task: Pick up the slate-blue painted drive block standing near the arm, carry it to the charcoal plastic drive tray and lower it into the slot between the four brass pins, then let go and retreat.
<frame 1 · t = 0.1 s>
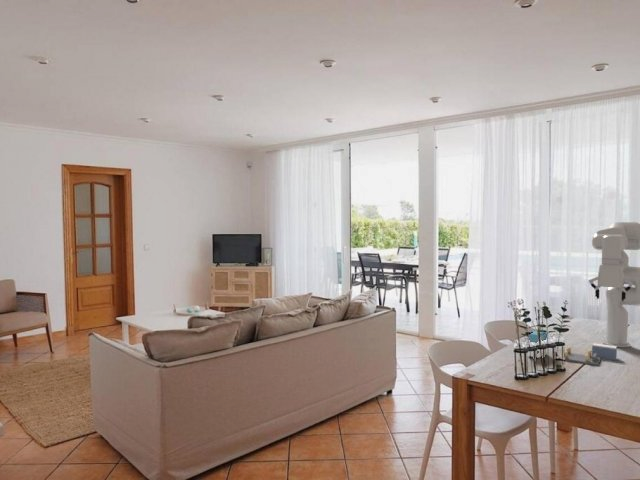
hand: (610, 299, 216), 31 cm above the table, fingers open, 9 cm apart
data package: (537, 356, 234), on the table
drive: (604, 357, 231), on the table
tray: (577, 359, 228), on the table
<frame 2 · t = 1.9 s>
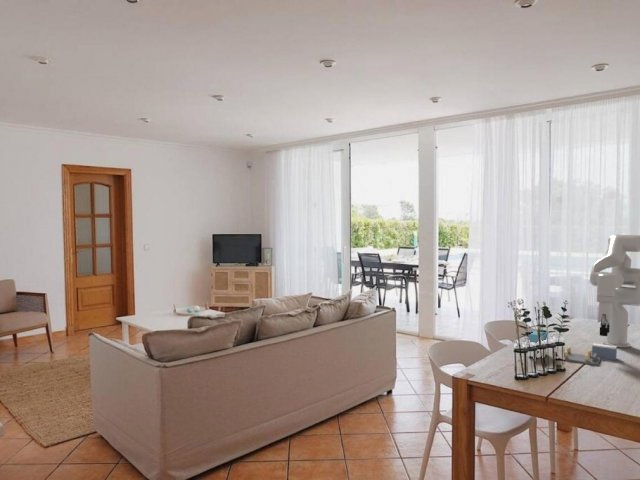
hand: (604, 334, 230), 12 cm above the table, fingers open, 9 cm apart
nothing on the table moved.
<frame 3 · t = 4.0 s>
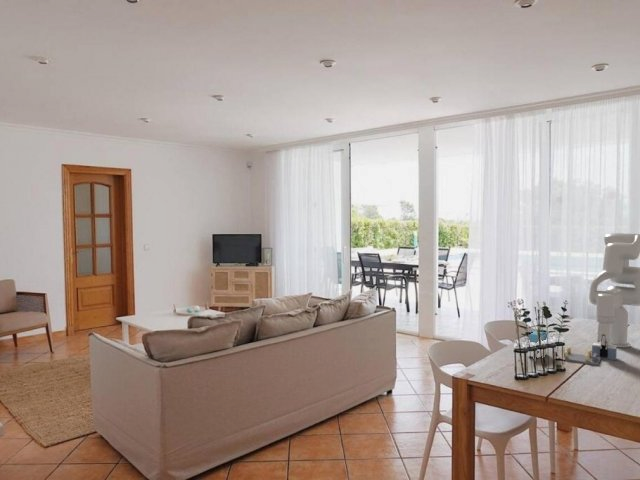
hand: (604, 355, 231), 1 cm above the table, fingers closed on drive, 4 cm apart
drive: (604, 357, 231), on the table, touching gripper
everything else where it was.
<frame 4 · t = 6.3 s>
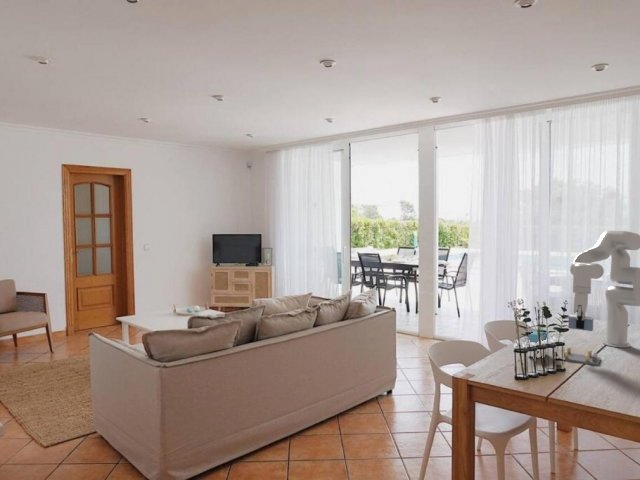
hand: (580, 327, 227), 16 cm above the table, fingers closed on drive, 4 cm apart
drive: (580, 328, 227), point 15 cm above the table, touching gripper
everything else where it was.
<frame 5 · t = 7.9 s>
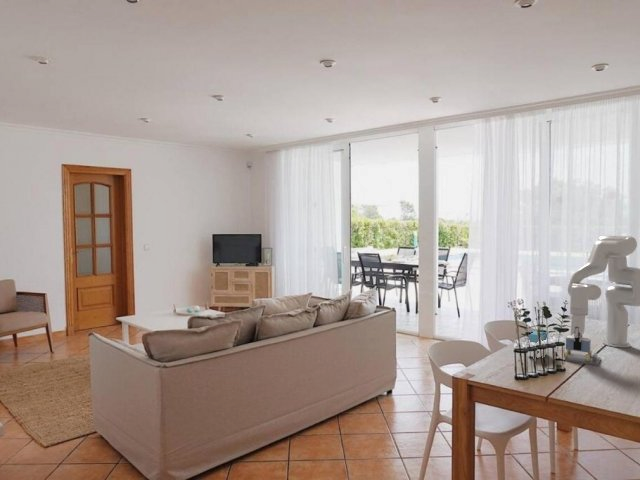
hand: (578, 348, 228), 5 cm above the table, fingers closed on drive, 4 cm apart
drive: (577, 350, 228), point 5 cm above the table, touching gripper
everything else where it was.
when the fingers open (4 cm above the table, at t = 8.9 s): drive drops 2 cm, resting on tray.
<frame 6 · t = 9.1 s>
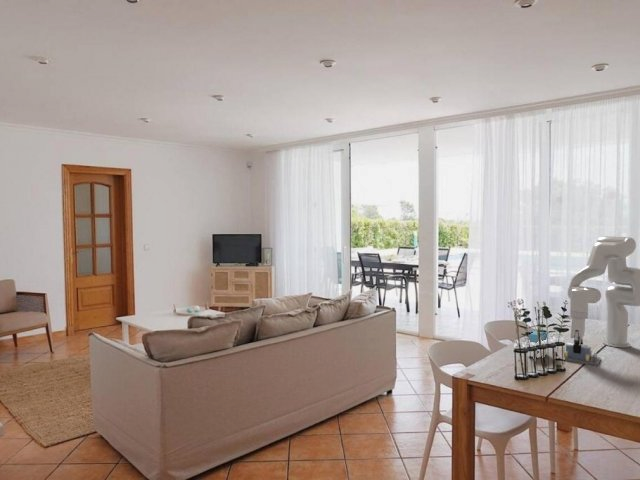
hand: (578, 351, 228), 4 cm above the table, fingers open, 5 cm apart
drive: (578, 357, 228), point 1 cm above the table, touching tray
everything else where it was.
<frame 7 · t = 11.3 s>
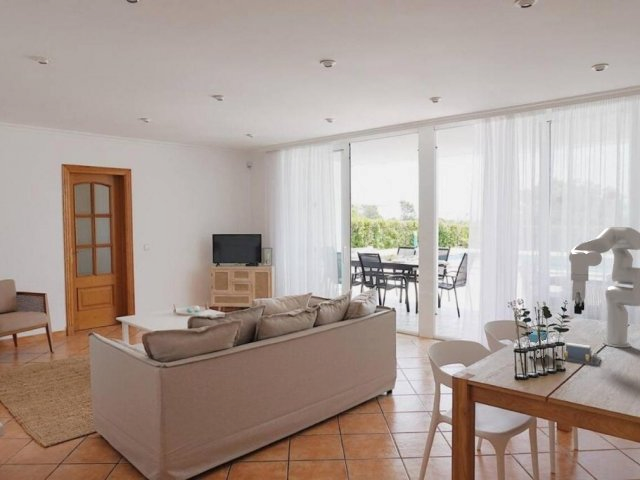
hand: (579, 311, 231), 22 cm above the table, fingers open, 9 cm apart
nothing on the table moved.
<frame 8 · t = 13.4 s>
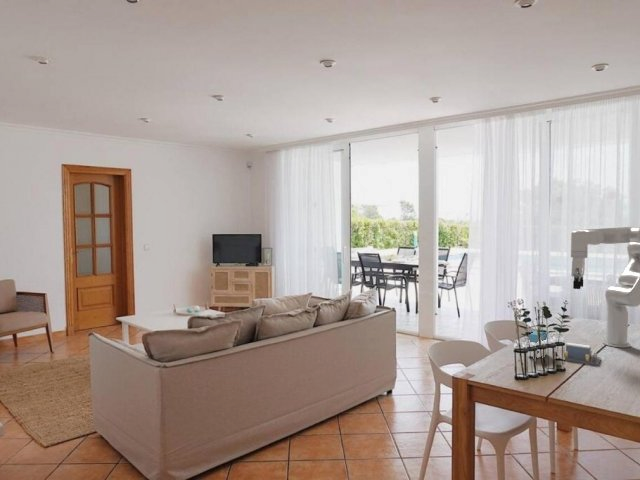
hand: (578, 287, 243), 32 cm above the table, fingers open, 9 cm apart
nothing on the table moved.
at the end: drive 0.2 cm off-centre on the tray, point 1.0 cm above the tray's base; drive tilted 0°; the gripper is holding nothing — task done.
